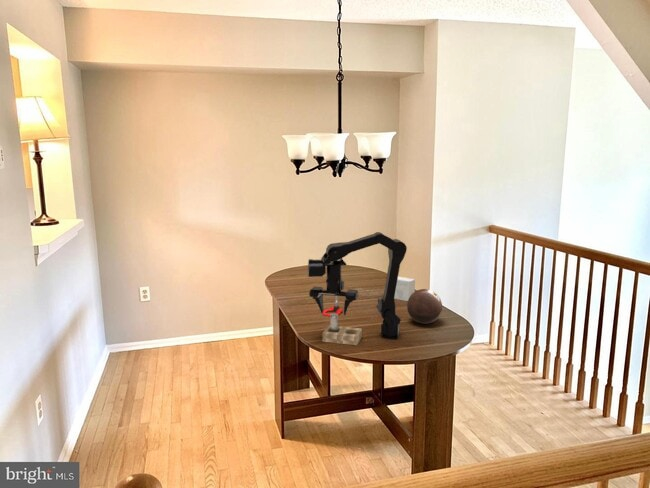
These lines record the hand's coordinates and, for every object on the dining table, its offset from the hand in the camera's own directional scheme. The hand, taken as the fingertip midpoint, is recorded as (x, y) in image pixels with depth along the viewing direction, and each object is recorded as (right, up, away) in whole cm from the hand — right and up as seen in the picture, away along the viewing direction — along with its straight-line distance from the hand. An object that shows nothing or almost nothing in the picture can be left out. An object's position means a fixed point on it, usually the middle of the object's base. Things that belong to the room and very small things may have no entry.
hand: (333, 314), depth 191 cm
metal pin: (0, -10, +2) cm, 10 cm away
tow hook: (0, -5, +32) cm, 32 cm away
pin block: (+4, -10, +1) cm, 11 cm away
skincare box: (+36, 0, +54) cm, 65 cm away
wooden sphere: (+40, -7, +20) cm, 45 cm away
